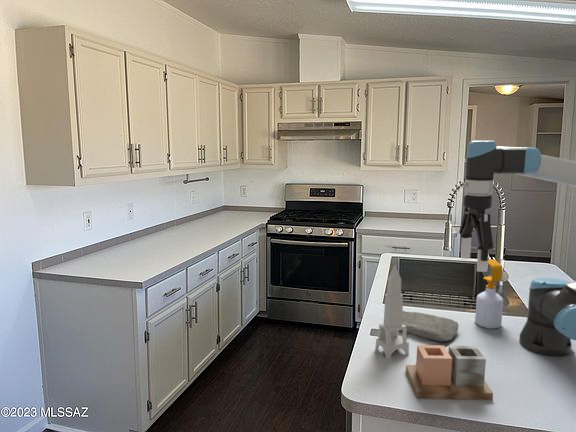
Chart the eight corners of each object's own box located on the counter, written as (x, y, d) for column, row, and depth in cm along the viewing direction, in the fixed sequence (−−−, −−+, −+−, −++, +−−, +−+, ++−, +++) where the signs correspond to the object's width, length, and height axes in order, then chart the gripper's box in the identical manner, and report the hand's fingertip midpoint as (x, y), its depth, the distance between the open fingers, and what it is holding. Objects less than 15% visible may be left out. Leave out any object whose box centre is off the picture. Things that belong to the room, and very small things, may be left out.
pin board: (473, 372, 131) (475, 341, 129) (492, 399, 117) (495, 365, 116) (405, 370, 132) (407, 340, 130) (417, 398, 118) (418, 364, 117)
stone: (461, 320, 158) (449, 335, 146) (460, 331, 159) (448, 347, 147) (394, 305, 173) (378, 317, 161) (393, 315, 174) (377, 328, 162)
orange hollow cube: (442, 370, 128) (443, 345, 127) (450, 385, 121) (452, 358, 119) (415, 370, 129) (417, 345, 127) (422, 384, 121) (423, 358, 120)
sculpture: (375, 349, 146) (377, 262, 140) (396, 345, 149) (399, 259, 143) (386, 358, 139) (389, 268, 134) (408, 354, 142) (412, 265, 137)
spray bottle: (489, 317, 170) (494, 256, 166) (506, 327, 161) (512, 263, 157) (469, 320, 168) (474, 258, 163) (486, 330, 159) (491, 265, 155)
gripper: (451, 189, 140) (447, 253, 144) (481, 200, 116) (475, 277, 119) (475, 189, 140) (470, 253, 143) (510, 200, 115) (504, 277, 119)
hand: (473, 264), depth 131 cm, fingers open, 13 cm apart
